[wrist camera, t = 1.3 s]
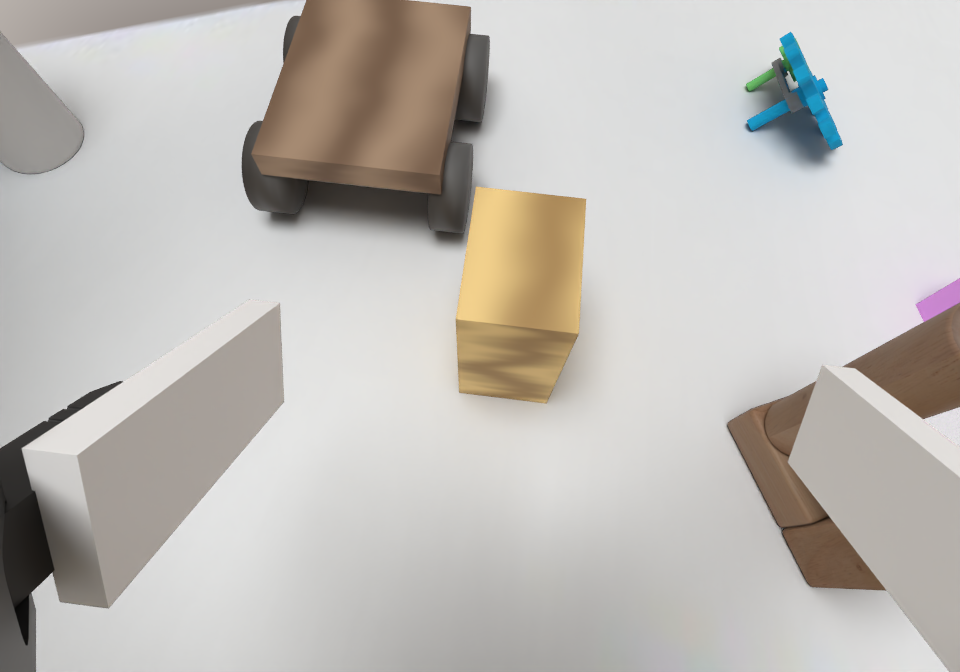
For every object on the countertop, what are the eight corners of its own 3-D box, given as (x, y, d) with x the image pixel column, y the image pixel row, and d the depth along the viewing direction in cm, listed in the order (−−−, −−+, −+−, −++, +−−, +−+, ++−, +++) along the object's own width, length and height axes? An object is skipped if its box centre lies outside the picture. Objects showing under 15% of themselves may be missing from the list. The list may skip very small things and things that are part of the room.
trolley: (264, 227, 43) (225, 159, 36) (317, 65, 50) (293, -18, 43) (462, 249, 42) (461, 186, 35) (488, 83, 49) (491, 2, 42)
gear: (862, 164, 44) (823, 79, 38) (784, 199, 48) (737, 127, 42) (824, 79, 50) (785, -6, 44) (757, 116, 54) (712, 42, 48)
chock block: (459, 392, 38) (455, 319, 27) (473, 288, 41) (476, 184, 30) (546, 403, 38) (578, 333, 27) (554, 297, 41) (586, 196, 30)
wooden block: (807, 589, 34) (1139, 606, 17) (723, 423, 37) (925, 306, 21) (859, 568, 34) (1230, 565, 18) (770, 407, 38) (1005, 280, 21)
